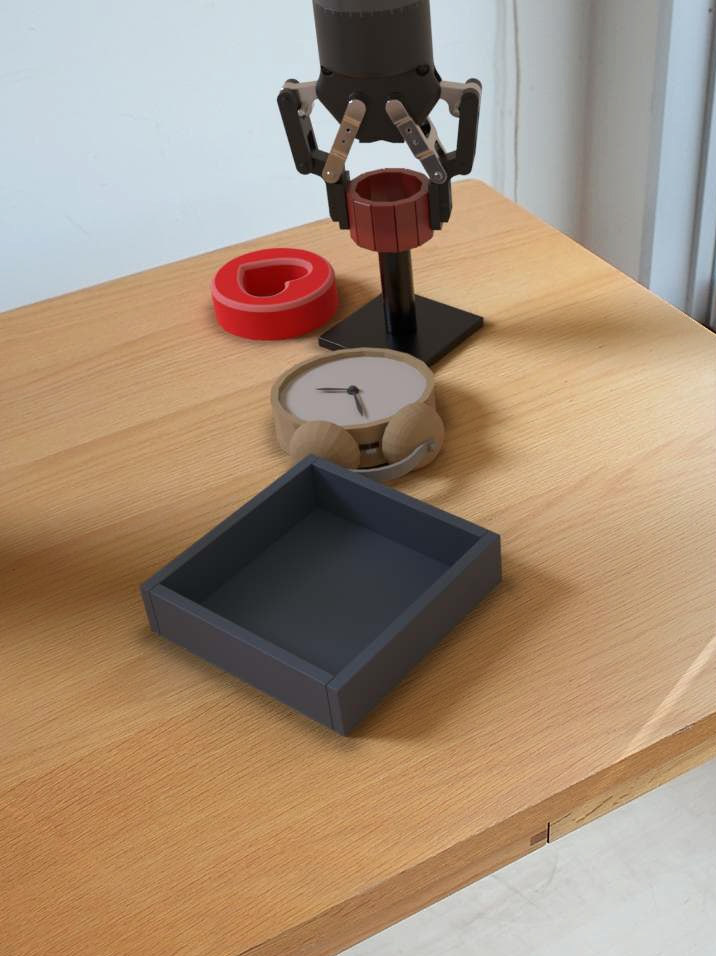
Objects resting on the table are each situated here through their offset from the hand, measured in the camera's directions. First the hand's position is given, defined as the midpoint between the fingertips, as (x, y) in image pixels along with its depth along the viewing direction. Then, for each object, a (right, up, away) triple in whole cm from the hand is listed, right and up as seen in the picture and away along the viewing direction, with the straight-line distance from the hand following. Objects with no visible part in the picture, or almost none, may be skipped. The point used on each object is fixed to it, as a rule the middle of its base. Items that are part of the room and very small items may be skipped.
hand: (392, 224), depth 95 cm
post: (0, -7, +6) cm, 10 cm away
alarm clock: (-2, -16, -4) cm, 17 cm away
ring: (0, -1, 0) cm, 1 cm away
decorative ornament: (-10, -5, +10) cm, 15 cm away
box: (-2, -26, -17) cm, 31 cm away
